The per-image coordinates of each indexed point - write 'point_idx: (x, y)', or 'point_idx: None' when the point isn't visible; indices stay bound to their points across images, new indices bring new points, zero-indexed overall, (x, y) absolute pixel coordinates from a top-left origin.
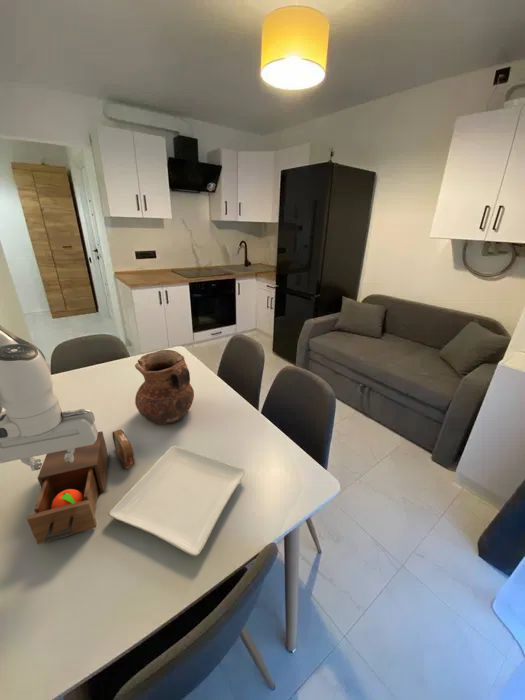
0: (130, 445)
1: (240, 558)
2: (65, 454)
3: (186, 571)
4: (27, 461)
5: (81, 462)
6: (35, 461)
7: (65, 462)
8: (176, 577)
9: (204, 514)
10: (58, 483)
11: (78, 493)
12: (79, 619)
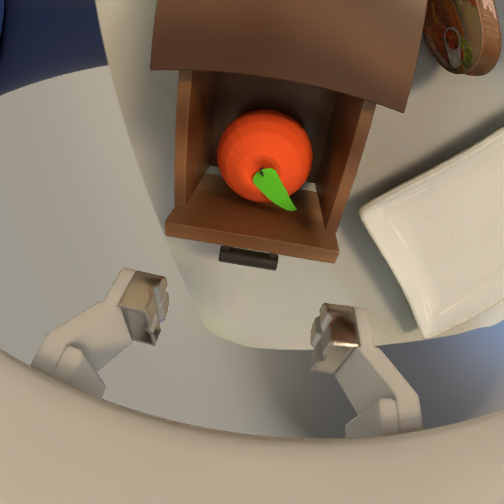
0: (500, 50)
1: (451, 332)
2: (328, 350)
3: (405, 324)
4: (97, 369)
5: (343, 51)
6: (127, 318)
7: (312, 342)
8: (393, 325)
9: (475, 281)
10: None
11: (305, 164)
12: (275, 316)
